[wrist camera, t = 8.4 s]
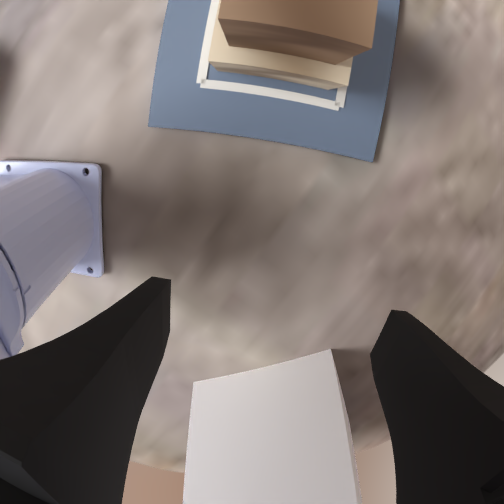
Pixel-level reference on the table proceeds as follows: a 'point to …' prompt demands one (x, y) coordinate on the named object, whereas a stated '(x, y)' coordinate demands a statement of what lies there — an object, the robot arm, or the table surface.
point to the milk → (272, 437)
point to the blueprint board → (268, 89)
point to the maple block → (275, 64)
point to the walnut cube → (301, 27)
